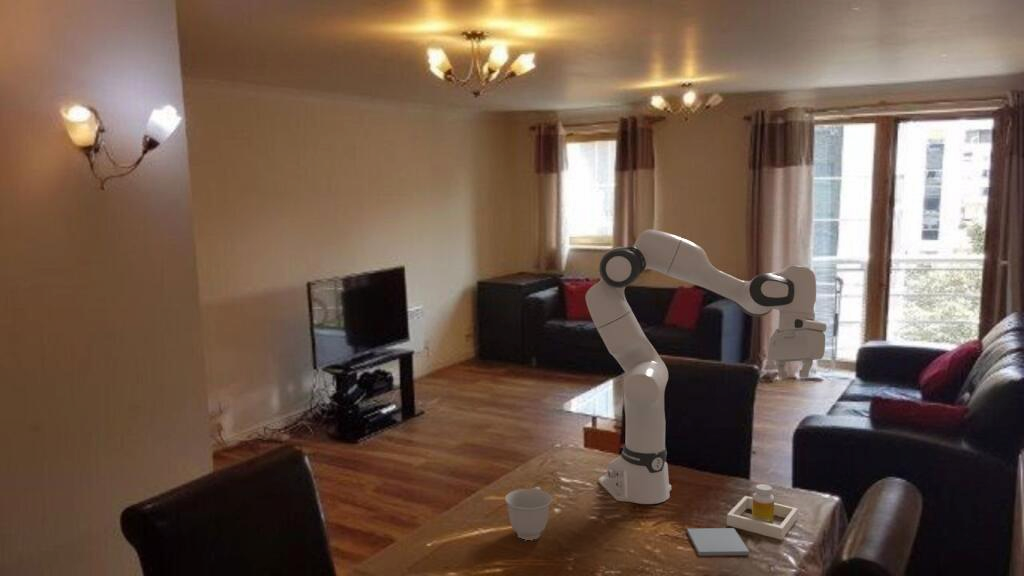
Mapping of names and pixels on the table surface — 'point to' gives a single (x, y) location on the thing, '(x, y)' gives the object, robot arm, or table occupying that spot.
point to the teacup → (528, 511)
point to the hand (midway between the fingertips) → (792, 377)
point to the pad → (717, 541)
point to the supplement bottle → (763, 504)
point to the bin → (759, 526)
